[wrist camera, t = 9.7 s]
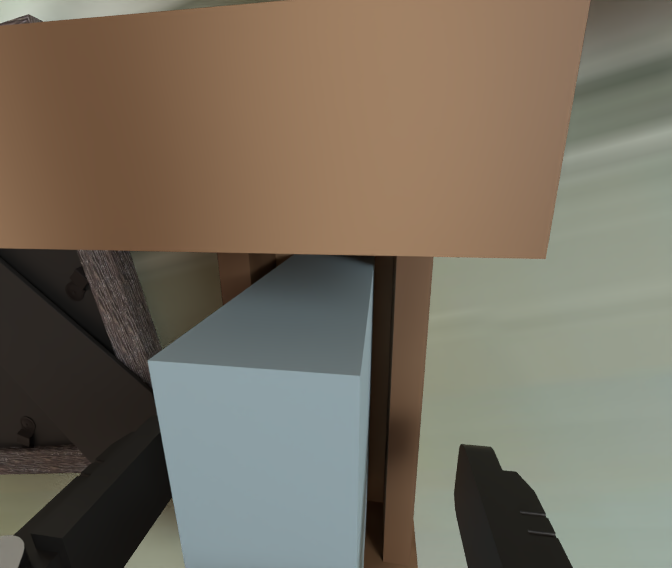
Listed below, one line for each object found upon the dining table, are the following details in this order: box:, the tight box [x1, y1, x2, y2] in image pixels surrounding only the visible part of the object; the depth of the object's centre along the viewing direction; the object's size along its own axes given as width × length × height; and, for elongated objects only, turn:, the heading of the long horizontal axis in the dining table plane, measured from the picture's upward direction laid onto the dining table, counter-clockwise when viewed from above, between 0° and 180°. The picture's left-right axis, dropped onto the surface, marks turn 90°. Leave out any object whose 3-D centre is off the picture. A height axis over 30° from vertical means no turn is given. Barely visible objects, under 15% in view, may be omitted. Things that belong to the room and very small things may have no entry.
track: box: [0, 0, 591, 568], centre depth 11 cm, size 7×18×10 cm, turn 1°
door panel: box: [148, 254, 375, 568], centre depth 10 cm, size 4×10×8 cm, turn 0°
